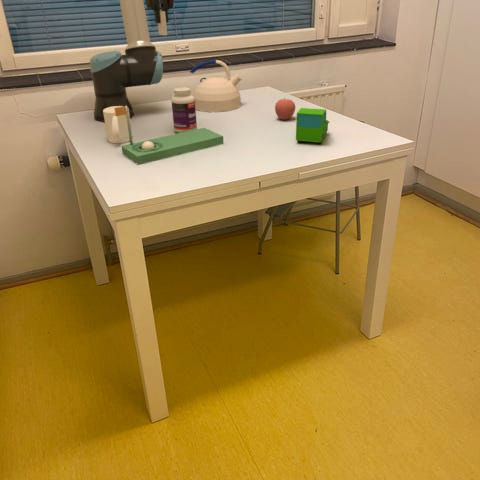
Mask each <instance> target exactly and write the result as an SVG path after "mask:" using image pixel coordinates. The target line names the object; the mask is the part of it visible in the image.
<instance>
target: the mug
mask: <svg viewBox="0 0 480 480" xmlns="http://www.w3.org/2000/svg"><path fill="white" fill-rule="evenodd" d="M117 107H123V106H113V107H108V108H105V109H104V110H103V114H104V120H105V122H104V126H105V131H106V138H107V142H109V143H112V144H125V143H128V142H130V139H129V132H128V126H127V119H126V115H121V116H116V115H115V109H114V108H117ZM128 114H129V108H128ZM129 121H130V128H131V135H132V140H134V139H133V138H134V137H133V129H132V124H131V123H132V122H131V118H130V115H129Z"/></svg>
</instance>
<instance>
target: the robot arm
mask: <svg viewBox="0 0 480 480" xmlns="http://www.w3.org/2000/svg"><path fill="white" fill-rule="evenodd" d="M174 1H175V0H119V4H120V10H121V15H122V16H121V17H122V22H123V27H124V31H125V37H126V42H127V46H126V47H125V48H124V53H125V54H122V53H121V51H119V50H113V51H111V50H110V51H103V52H101V53H98V54H95V55H93V56H92V57H91V58H90V60H89V65H90V66H89V68H90V70H89V71H90V73H91V78H92V85H93V90H94V97H95V99H94V100H95V101H94V108H93V117H94V120H95V121H98V122H104V123H105V120H104V114H103V110H104V109H105V108H108V107H113V106H127V107H128V108H129V115H130V119H132V118H133V117H134V116H135V111H134V108H133V106H132V104H131V101H130V99H129V98H128V95H127V89H126V88H132V87H141V86H151V85H157V84H159V83H160V82H161V81H162V78H163V75H164V61H163V56H162V53H161V52H160V51H159V50H158V51H157V48H156V45H155V44H153V43H152V42H151V38H150V34H149V33H150V31H149V26H148V19H147V14H146V10H145V9H146V8H147V9H148V10H151V11H153V15H154V22H155V23H156V24H157V27H158V28H157V29H158V35H159V36H168V30H167V29H168V27H167V23H169V14H168V12H169V10H170V9H173V7H174ZM144 2H145V3H144ZM145 4H146V8H145Z"/></svg>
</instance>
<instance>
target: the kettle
mask: <svg viewBox="0 0 480 480" xmlns="http://www.w3.org/2000/svg"><path fill="white" fill-rule="evenodd" d="M213 64H219V65H220V66H221V67H223V68H224V70H225V76H224V77H223V76H221V75H218V76H217V75H213V76H209V77H202V78H201V79H200V80H199V83H198V84H197V86H196V88H195V89H194V92H193V95H192V96H193V97H194V98H195V109H196V111H200V112H205V113H221V112H230V111H235V110H238V109H239V108H240V107H242V100H241V99H242V98H241V93H240V92H239V89H238V87H237V85H238V84H239V83H240V82H241V81H242V80H243V79H242V77H241V76H240V74H239V73H235V74H234V75H233V76H232V77H231V70H230V68H229V66H228V65H227V64H226V63H225V62H223V60H218V59H212V60H211V59H210V60H207V61H204V62H201V63H199V64H197V65H195V66H194V67H193V68H191V70H190V71H189V73H190V74H194V73H196V71H198V70H199V69H200V68H203V67H205V66H207V65H213Z"/></svg>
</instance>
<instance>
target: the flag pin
mask: <svg viewBox="0 0 480 480" xmlns="http://www.w3.org/2000/svg"><path fill="white" fill-rule="evenodd" d="M114 109H115V115H116V116H121V115H126V119H127V126H128V132H129V139H130V141H129V144H130V145H133V143H134V141H133V139H132V136H133V134H132V135H131V129H132V127H131V128H130V122H131V120H130V121H129V114H128V107H127V106H123V107H117V108H114Z"/></svg>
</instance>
